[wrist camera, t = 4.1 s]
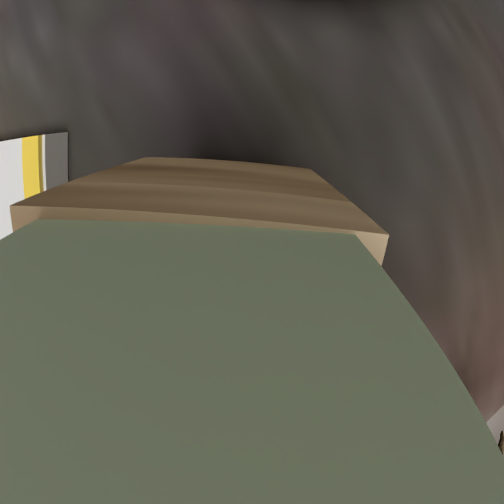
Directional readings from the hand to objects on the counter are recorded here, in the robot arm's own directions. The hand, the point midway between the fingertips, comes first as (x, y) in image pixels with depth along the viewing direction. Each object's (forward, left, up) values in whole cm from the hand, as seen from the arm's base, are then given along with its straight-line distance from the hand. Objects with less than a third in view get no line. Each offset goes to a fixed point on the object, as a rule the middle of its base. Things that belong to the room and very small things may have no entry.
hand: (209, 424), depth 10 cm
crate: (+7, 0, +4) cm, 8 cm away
